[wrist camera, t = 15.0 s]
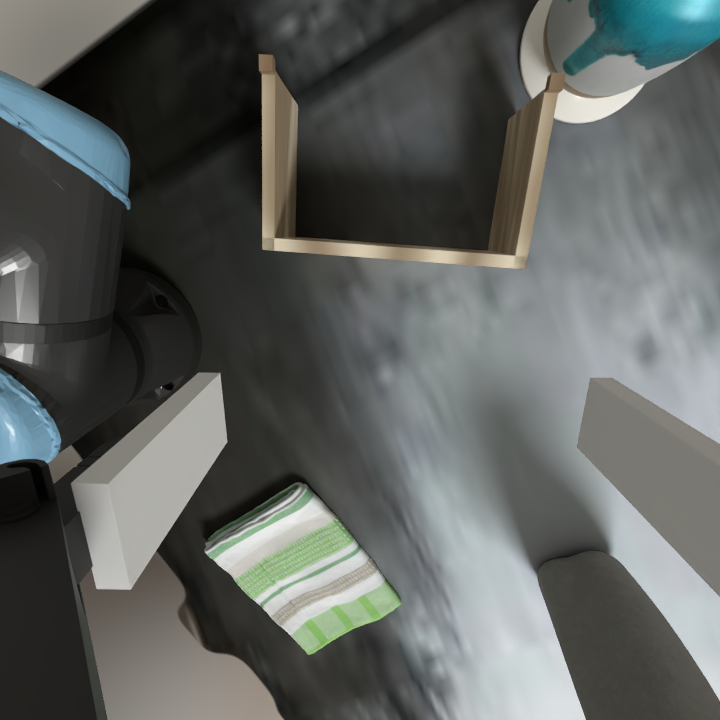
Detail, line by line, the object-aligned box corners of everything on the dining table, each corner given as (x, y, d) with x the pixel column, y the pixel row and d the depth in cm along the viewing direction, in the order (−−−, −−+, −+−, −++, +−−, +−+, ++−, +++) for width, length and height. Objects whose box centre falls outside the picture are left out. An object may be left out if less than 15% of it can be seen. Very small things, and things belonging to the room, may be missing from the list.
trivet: (508, 119, 39) (510, 117, 38) (533, -39, 35) (536, -44, 34) (636, 128, 38) (640, 126, 38) (675, -31, 35) (680, -35, 34)
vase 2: (608, 613, 56) (850, 1015, 27) (518, 603, 56) (664, 993, 27) (635, 540, 52) (947, 916, 23) (538, 530, 52) (731, 891, 24)
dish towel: (305, 474, 52) (300, 491, 49) (405, 594, 57) (406, 617, 54) (205, 534, 56) (194, 554, 52) (307, 642, 61) (303, 666, 57)
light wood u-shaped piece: (285, 245, 43) (259, 250, 34) (287, 96, 39) (258, 54, 30) (495, 261, 43) (528, 269, 33) (520, 111, 38) (566, 73, 29)
